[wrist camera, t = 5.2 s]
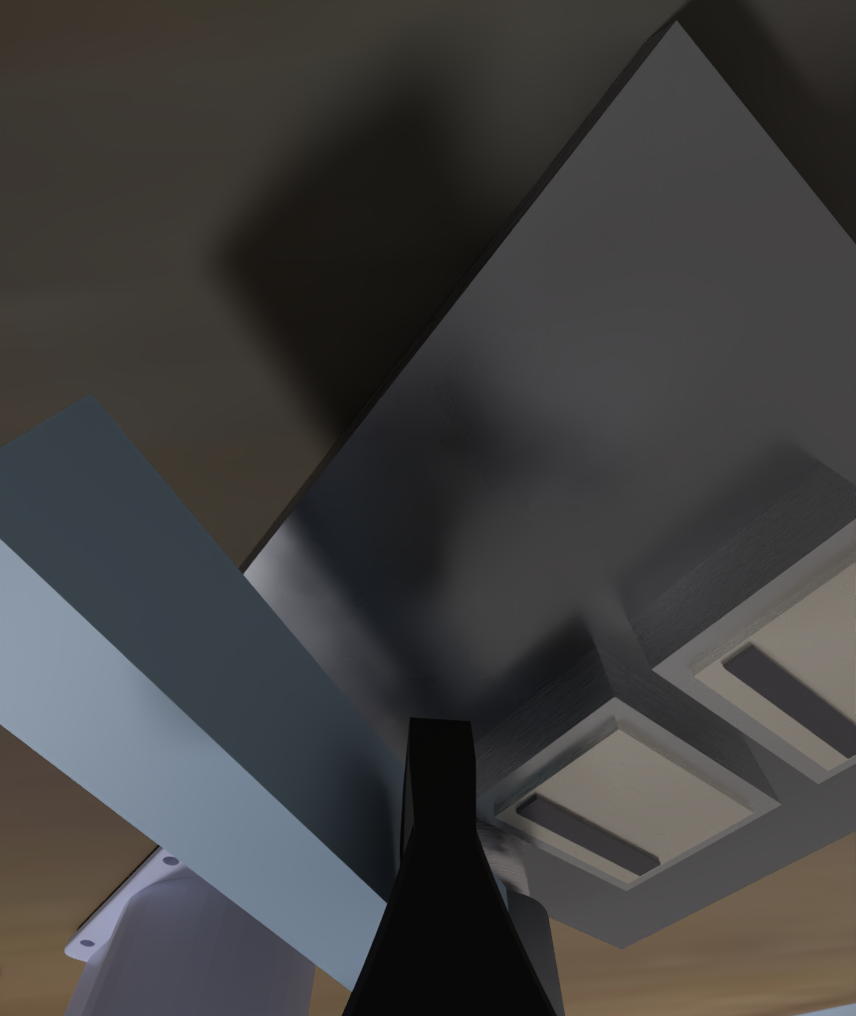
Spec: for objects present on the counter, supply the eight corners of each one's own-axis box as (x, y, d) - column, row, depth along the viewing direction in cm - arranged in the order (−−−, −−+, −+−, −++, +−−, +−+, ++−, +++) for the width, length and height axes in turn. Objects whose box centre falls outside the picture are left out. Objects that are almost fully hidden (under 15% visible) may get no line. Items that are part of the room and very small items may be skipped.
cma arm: (565, 933, 15) (592, 1073, 13) (460, 960, 16) (466, 1097, 14) (117, 377, 8) (-22, 462, 5) (-44, 473, 9) (-232, 587, 6)
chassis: (612, 912, 21) (638, 1012, 19) (143, 691, 16) (86, 793, 13) (1134, 627, 15) (1289, 723, 12) (646, 40, 9) (740, -22, 6)
